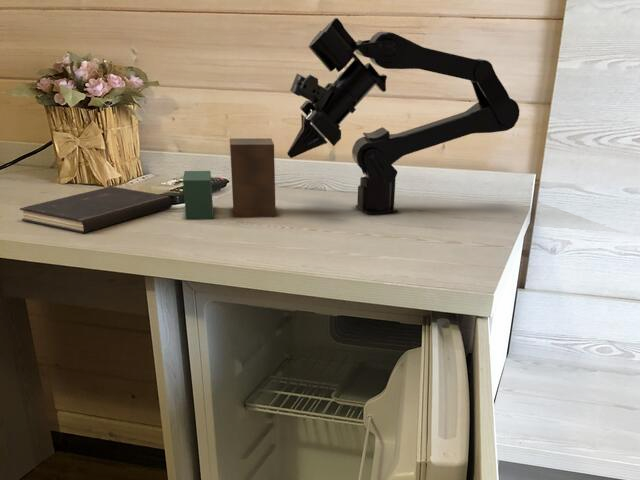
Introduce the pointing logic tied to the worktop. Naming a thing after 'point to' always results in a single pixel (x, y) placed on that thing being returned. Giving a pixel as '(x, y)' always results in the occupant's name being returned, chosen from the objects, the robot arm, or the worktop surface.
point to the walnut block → (253, 177)
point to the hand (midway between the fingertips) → (288, 155)
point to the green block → (198, 194)
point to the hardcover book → (95, 209)
